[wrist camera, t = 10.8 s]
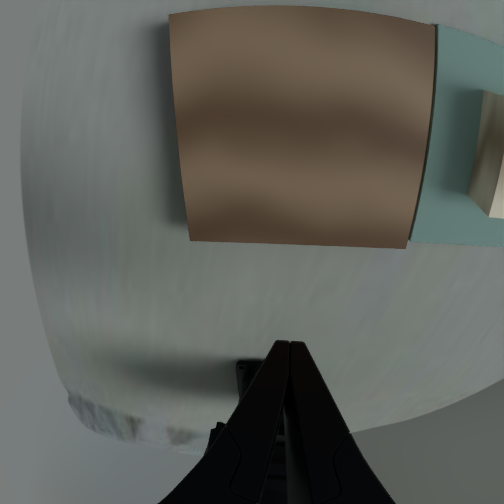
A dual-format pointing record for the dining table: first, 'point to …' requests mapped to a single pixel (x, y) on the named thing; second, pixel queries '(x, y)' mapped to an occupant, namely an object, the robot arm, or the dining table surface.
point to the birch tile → (489, 158)
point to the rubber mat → (457, 142)
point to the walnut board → (301, 123)
